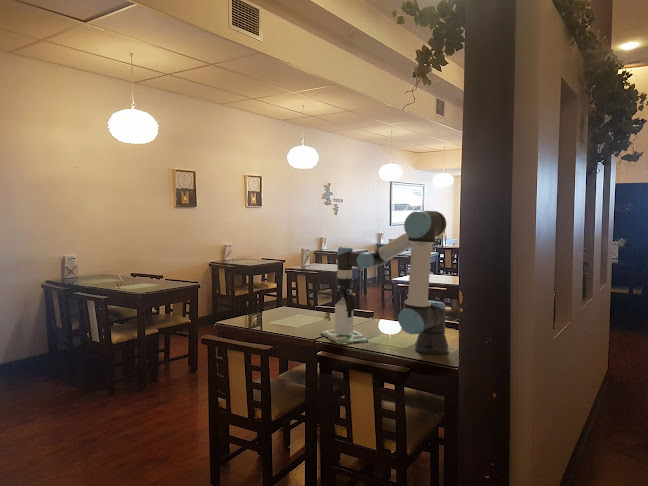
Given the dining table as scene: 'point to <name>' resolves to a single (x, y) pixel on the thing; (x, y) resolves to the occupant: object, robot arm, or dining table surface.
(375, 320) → the dining table surface
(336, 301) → the robot arm
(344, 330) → the milk carton
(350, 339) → the shallow tray
